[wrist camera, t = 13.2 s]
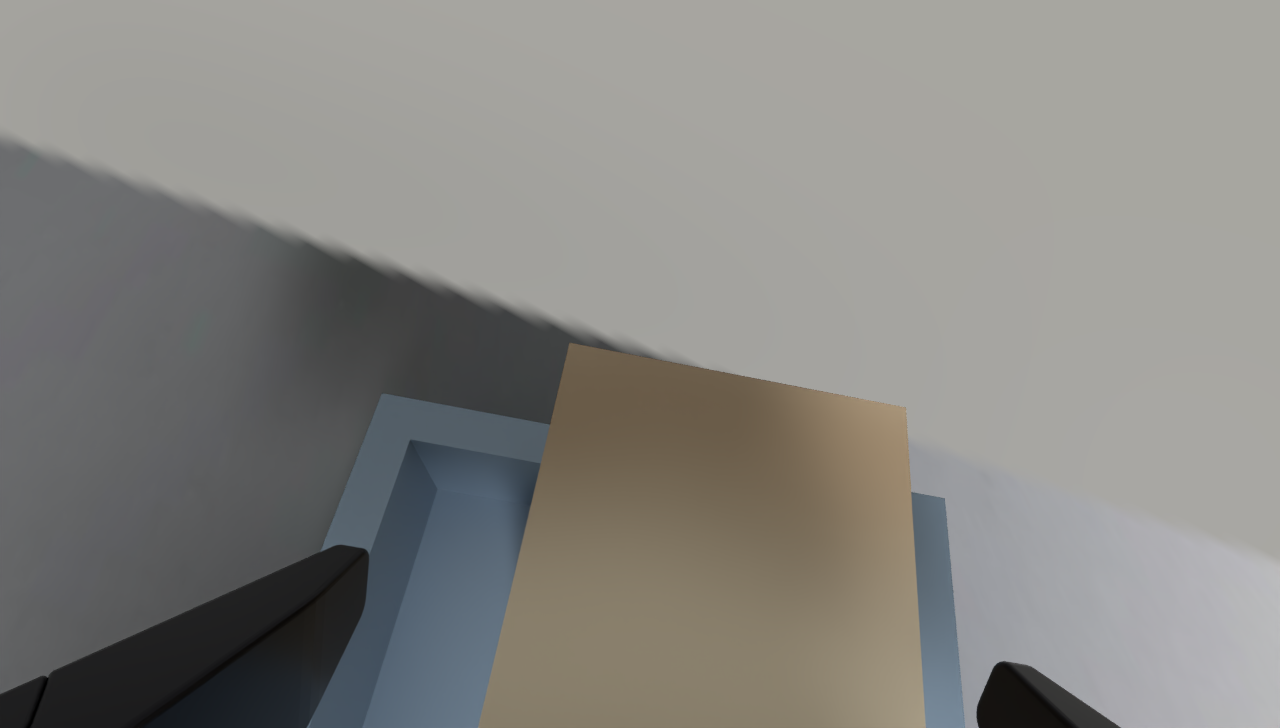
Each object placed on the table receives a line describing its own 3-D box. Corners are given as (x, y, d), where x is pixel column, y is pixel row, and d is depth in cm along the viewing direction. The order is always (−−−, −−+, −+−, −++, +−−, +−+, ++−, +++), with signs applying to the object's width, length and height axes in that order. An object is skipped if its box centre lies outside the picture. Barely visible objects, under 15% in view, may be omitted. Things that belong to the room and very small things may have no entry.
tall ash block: (700, 745, 16) (931, 823, 6) (521, 714, 16) (473, 745, 6) (716, 560, 18) (905, 407, 8) (559, 532, 18) (569, 342, 8)
